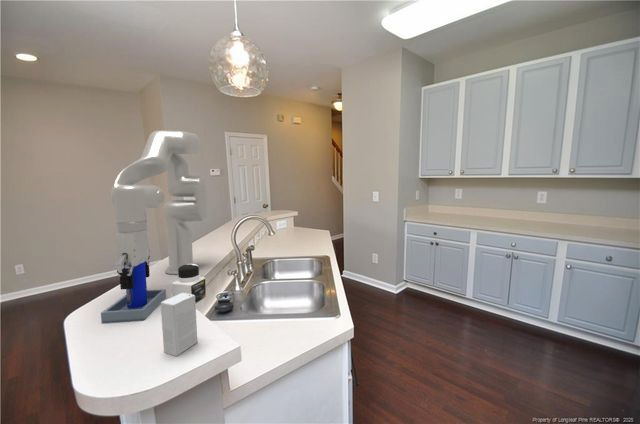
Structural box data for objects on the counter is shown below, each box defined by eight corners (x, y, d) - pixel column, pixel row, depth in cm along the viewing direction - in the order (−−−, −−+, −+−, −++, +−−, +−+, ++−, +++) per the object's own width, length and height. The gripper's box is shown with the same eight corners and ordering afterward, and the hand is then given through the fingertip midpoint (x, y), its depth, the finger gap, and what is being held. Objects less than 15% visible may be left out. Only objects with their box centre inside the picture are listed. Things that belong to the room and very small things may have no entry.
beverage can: (126, 306, 82) (123, 258, 81) (146, 301, 86) (143, 256, 84) (128, 312, 78) (125, 262, 77) (149, 307, 82) (146, 259, 80)
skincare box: (184, 338, 66) (182, 291, 65) (198, 342, 64) (196, 294, 63) (162, 352, 60) (159, 301, 59) (176, 357, 59) (173, 305, 58)
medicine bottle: (192, 306, 84) (190, 269, 83) (172, 304, 85) (170, 267, 84) (206, 297, 91) (205, 263, 90) (187, 295, 92) (186, 261, 91)
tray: (131, 299, 89) (131, 291, 88) (166, 297, 90) (165, 289, 90) (101, 323, 73) (100, 312, 73) (143, 320, 75) (143, 310, 75)
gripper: (133, 223, 87) (137, 274, 89) (99, 232, 70) (104, 295, 72) (158, 222, 89) (161, 272, 90) (130, 232, 72) (134, 293, 73)
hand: (136, 282), depth 81 cm, fingers open, 9 cm apart
